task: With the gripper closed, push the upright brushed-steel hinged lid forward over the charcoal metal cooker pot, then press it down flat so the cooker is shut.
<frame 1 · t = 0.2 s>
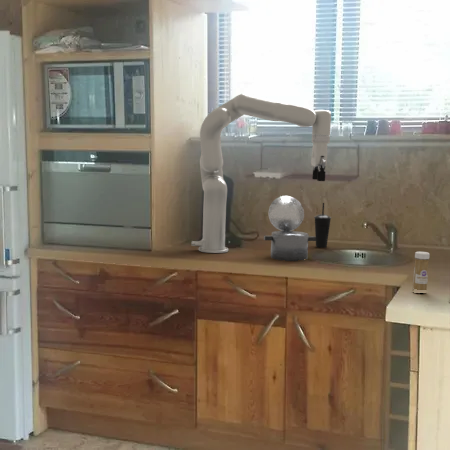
hand: (318, 180, 299), 31 cm above the worktop, tool pointing down, fingers open, 9 cm apart
lid: (285, 213, 297), point 17 cm above the worktop, hinge at 108.0°
drinking cup: (321, 247, 318), on the worktop
cooker pot: (289, 257, 288), on the worktop
sprinkles bottle: (419, 293, 230), on the worktop
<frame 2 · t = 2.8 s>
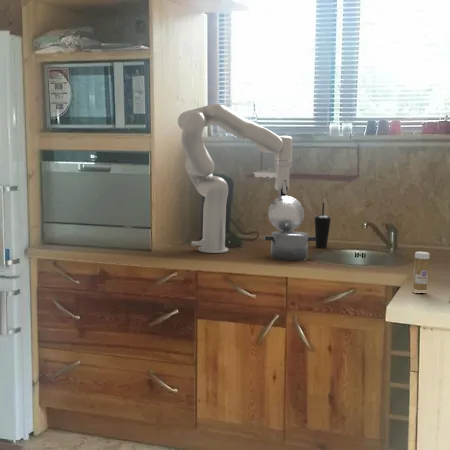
hand: (281, 206, 308), 19 cm above the worktop, tool pointing down, fingers closed
nothing on the worktop moved.
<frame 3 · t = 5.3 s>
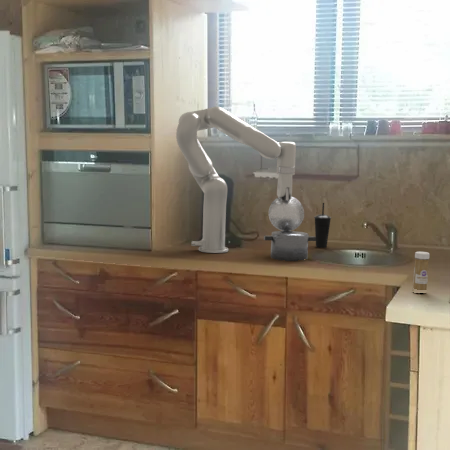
hand: (284, 213, 301), 16 cm above the worktop, tool pointing down, fingers closed
lid: (285, 213, 296), point 17 cm above the worktop, hinge at 105.6°, touching gripper
everything else where it was.
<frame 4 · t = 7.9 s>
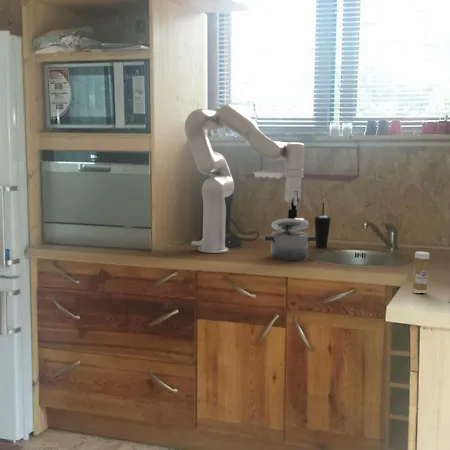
hand: (292, 219, 282), 16 cm above the worktop, tool pointing down, fingers closed
lid: (290, 222, 287), point 14 cm above the worktop, hinge at 23.3°
everything else where it was.
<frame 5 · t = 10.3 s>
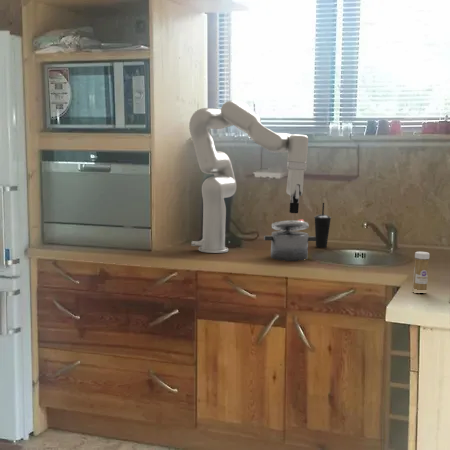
hand: (293, 212, 277), 19 cm above the worktop, tool pointing down, fingers closed
lid: (290, 223, 287), point 14 cm above the worktop, hinge at 19.4°
everything else where it was.
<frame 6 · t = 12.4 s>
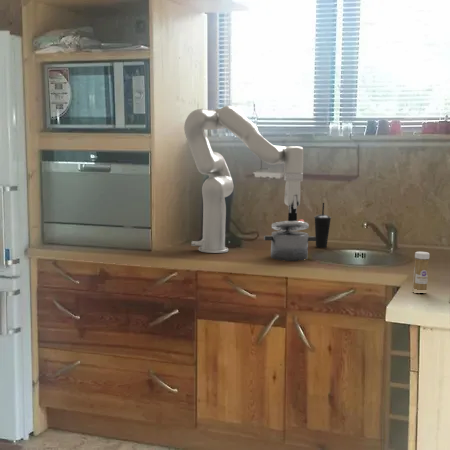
hand: (292, 222, 284), 15 cm above the worktop, tool pointing down, fingers closed
lid: (290, 223, 287), point 14 cm above the worktop, hinge at 18.9°, touching gripper
everything else where it was.
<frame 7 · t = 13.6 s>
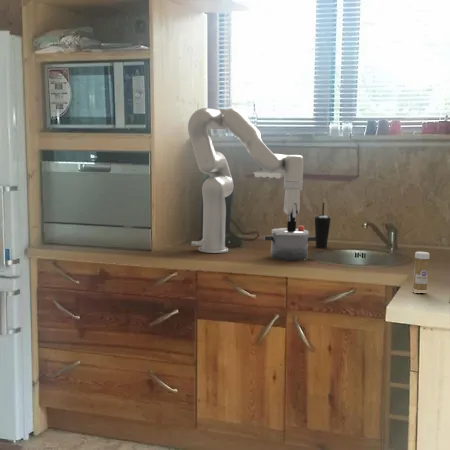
hand: (291, 230, 284), 11 cm above the worktop, tool pointing down, fingers closed
lid: (290, 229, 286), point 12 cm above the worktop, hinge at 0.0°
everything else where it was.
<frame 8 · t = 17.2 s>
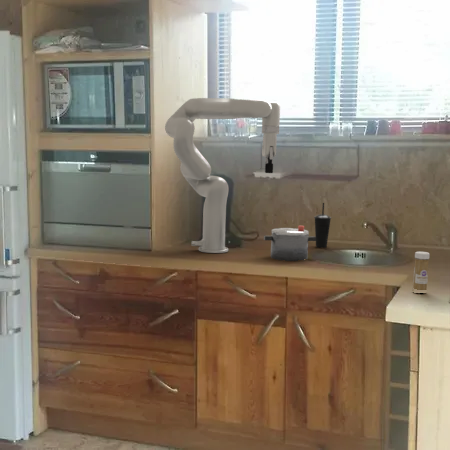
hand: (268, 172, 306), 33 cm above the worktop, tool pointing down, fingers closed
lid: (290, 229, 286), point 12 cm above the worktop, hinge at 0.0°, touching cooker pot
everything else where it was.
at the end: lid at +0° (first picture: +108°); drinking cup moved 0.2 cm from its start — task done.
